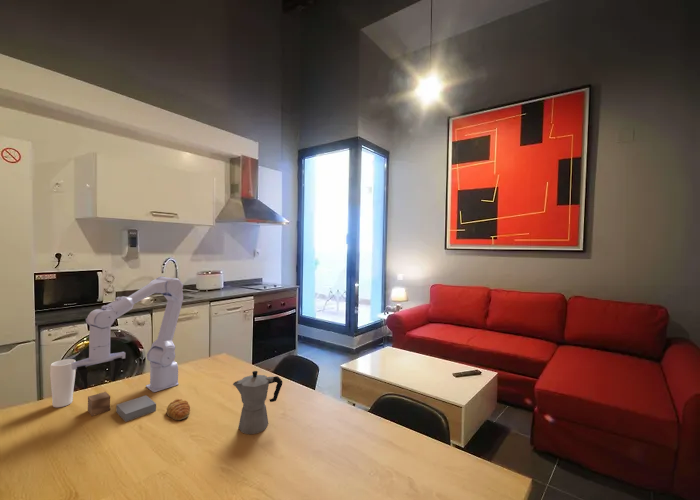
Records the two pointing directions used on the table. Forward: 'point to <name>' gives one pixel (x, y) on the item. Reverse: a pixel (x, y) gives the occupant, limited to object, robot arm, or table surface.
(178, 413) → the pastry
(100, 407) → the walnut cube
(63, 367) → the drinking glass
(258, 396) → the coffeepot
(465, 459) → the table surface
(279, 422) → the table surface
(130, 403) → the block
